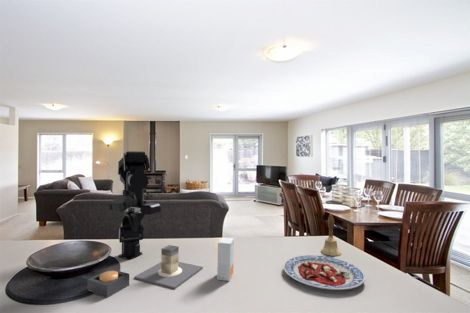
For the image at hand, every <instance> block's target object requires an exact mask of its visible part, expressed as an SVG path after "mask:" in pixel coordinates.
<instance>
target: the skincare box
mask: <svg viewBox="0 0 470 313" xmlns="http://www.w3.org/2000/svg"><path fill="white" fill-rule="evenodd" d="M234 245H235V238H234V237H233V238H232V237H230V238H229V237H222V238H221V239H220V240H219V241H218V243H217V267H216V268H217V271H216V272H217V274H216V279H217V280H218V281H227V282H230V280H231V278H232V276H233V275H234V262H235V261H234V256H235V255H234V254H235V253H234V251H235V250H234V249H235V248H234V247H235V246H234Z"/></svg>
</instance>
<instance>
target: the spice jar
mask: <svg viewBox="0 0 470 313" xmlns="http://www.w3.org/2000/svg"><path fill="white" fill-rule="evenodd" d="M179 255H180V254H179V246H177V245H171V244H169V245H166V246H164V247H162V248H161V257H160V259H161V261H160V262H161V273H166V274H170V275H171V274H173V273H174V272H176V271H178V262H179Z"/></svg>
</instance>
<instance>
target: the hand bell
mask: <svg viewBox="0 0 470 313" xmlns="http://www.w3.org/2000/svg"><path fill="white" fill-rule="evenodd" d="M327 226H328V237H327V238H325V239H324V245H323V247H322V248H321V249H320V253H321V252H322V254H323V255H326V256H329V257H331V256H332V257H337V256H338V255H339V256H341V255H342V254H341V253H342V251H341V250H340V249H339V247H338V242H337V239H336V238H334V226H335V218H334V216H333V213H329V215H328V218H327ZM340 254H341V255H340Z"/></svg>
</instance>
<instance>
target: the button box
mask: <svg viewBox="0 0 470 313" xmlns="http://www.w3.org/2000/svg"><path fill="white" fill-rule="evenodd" d="M108 271H116V272H118V278H117V279H115V280H113V281H111V282H109V283H106V282H102V281H100V275H101V274H102V273H104V272H108ZM86 285H87V289H89V290H91V291H92V293H91V294H94V295H97V296H100V297H103V298H106V299H108V298H110V297H111V296H113V295H115V294H116V293H118V292H120V291H121V290H124V289H126V288H127V287H129V286H130V273H128V272H125V271H124V272H123V271H120V270H116V269H112V268H109V269H108V270H106V271H103V272H101V273H99V274H96V275H94V276H92V277H91V278H90V277H89V278H88V279H87V284H86ZM87 289H86V290H87Z"/></svg>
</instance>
